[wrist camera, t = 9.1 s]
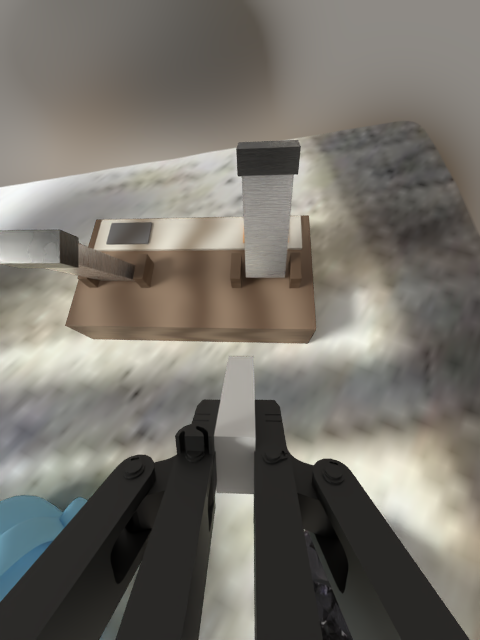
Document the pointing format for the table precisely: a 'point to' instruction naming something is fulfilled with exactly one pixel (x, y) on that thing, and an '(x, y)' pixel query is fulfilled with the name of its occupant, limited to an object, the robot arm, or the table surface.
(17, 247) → the lever
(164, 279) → the switch unit
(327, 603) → the black rock
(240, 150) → the lever
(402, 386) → the table surface
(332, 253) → the table surface
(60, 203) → the table surface
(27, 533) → the decorative pot
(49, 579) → the robot arm
